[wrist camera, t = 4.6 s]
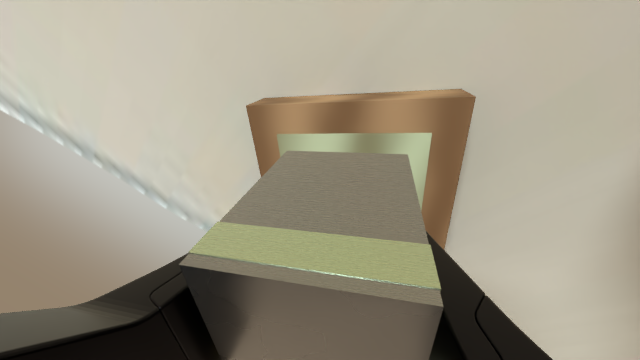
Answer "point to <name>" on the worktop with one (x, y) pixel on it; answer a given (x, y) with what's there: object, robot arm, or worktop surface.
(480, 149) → the worktop surface
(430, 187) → the platform
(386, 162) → the grey box
